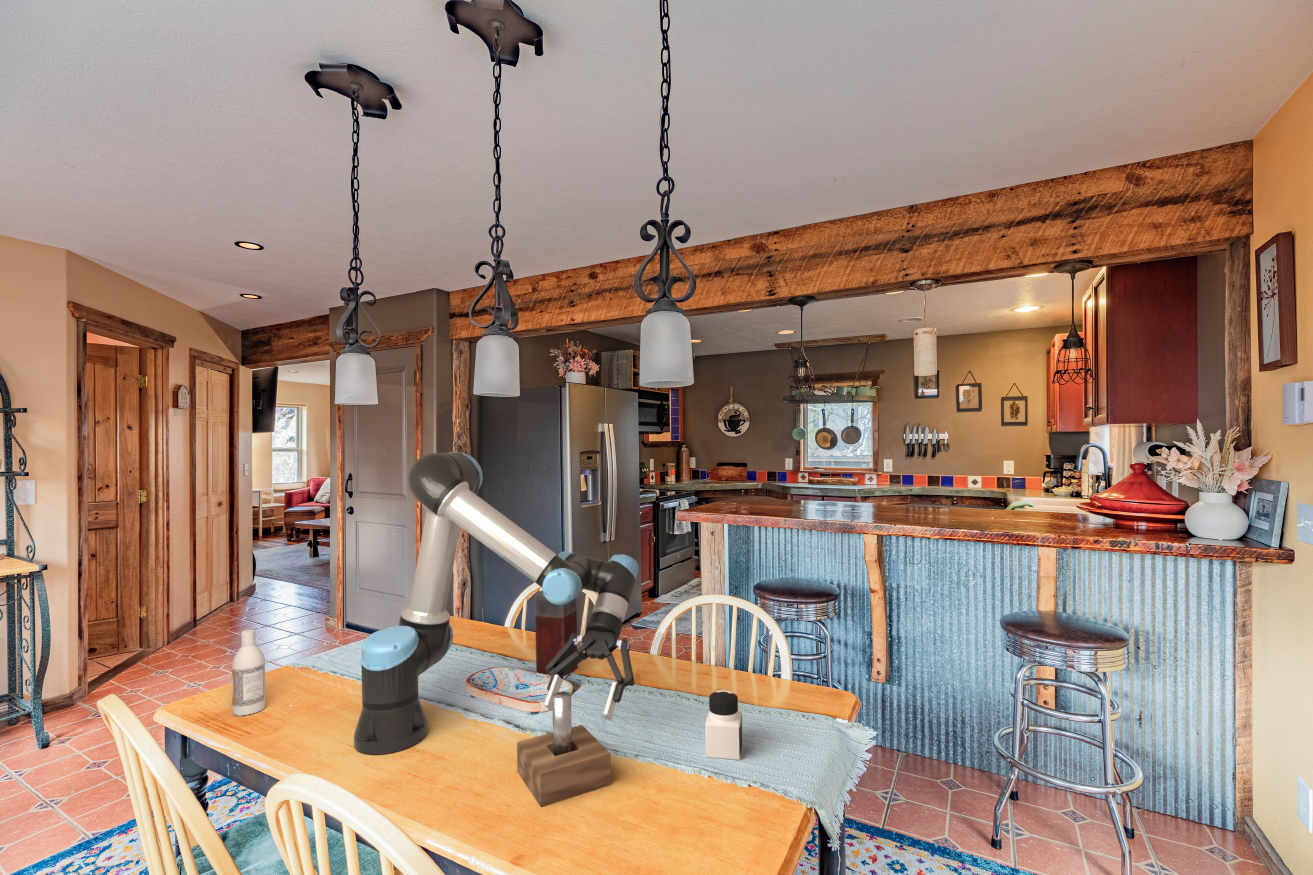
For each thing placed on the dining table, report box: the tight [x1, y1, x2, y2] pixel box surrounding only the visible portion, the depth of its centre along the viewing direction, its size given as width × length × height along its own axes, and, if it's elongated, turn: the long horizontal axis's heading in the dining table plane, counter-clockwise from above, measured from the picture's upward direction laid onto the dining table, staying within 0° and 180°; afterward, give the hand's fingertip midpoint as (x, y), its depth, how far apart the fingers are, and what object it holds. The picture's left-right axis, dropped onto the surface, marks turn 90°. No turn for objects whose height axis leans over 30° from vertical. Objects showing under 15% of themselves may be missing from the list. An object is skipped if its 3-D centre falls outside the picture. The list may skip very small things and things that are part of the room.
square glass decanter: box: [534, 589, 579, 677], centre depth 178 cm, size 9×11×28 cm
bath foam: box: [231, 628, 267, 717], centre depth 155 cm, size 7×7×20 cm
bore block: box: [516, 724, 612, 808], centre depth 121 cm, size 14×14×6 cm
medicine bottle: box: [704, 690, 743, 761], centre depth 130 cm, size 7×7×12 cm
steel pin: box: [552, 691, 573, 756], centre depth 121 cm, size 4×4×14 cm
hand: (577, 712), depth 126 cm, fingers open, 13 cm apart
